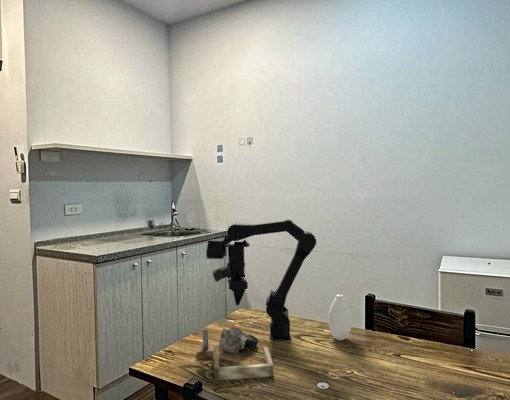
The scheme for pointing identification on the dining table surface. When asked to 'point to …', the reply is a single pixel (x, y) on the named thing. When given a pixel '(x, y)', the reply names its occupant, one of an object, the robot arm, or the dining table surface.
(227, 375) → the cradle
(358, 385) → the dining table surface
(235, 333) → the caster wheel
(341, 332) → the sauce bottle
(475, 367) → the dining table surface
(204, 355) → the stand rod
